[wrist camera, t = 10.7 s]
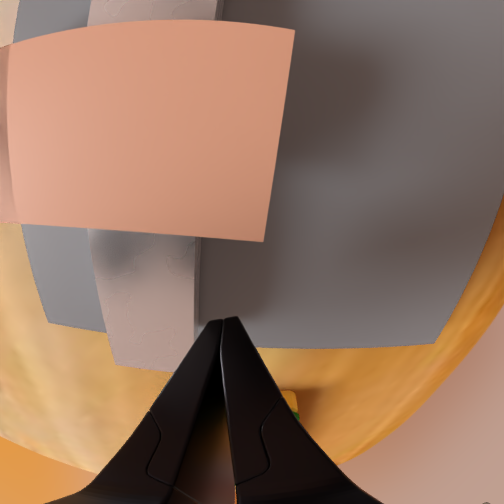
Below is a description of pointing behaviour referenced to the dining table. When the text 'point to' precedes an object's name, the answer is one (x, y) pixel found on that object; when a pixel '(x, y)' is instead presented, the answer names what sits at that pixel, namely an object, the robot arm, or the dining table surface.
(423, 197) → the base plate
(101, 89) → the block
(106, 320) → the lever
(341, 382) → the dining table surface
